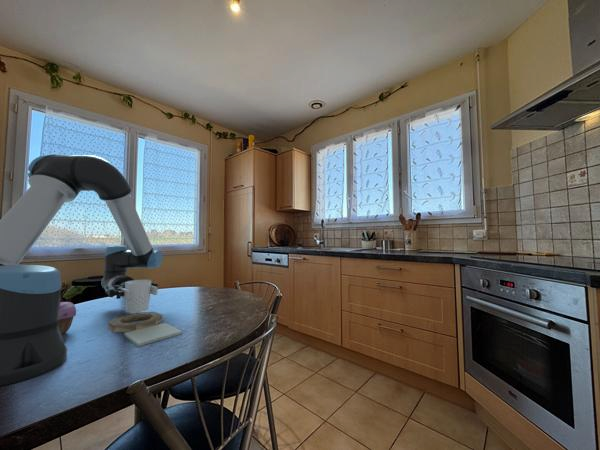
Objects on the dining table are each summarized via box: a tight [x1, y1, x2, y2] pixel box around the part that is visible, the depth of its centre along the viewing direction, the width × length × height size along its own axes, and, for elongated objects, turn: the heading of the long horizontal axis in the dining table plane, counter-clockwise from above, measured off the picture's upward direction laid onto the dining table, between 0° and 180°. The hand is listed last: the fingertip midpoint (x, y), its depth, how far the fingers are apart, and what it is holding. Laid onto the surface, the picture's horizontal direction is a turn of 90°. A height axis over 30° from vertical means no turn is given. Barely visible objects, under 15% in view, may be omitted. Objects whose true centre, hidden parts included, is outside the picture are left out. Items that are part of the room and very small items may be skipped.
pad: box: [123, 322, 182, 348], centre depth 77 cm, size 12×12×1 cm
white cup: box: [124, 279, 152, 314], centre depth 87 cm, size 8×8×10 cm
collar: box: [107, 311, 163, 333], centre depth 87 cm, size 15×15×2 cm
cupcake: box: [59, 301, 77, 335], centre depth 77 cm, size 9×9×10 cm
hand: (143, 293), depth 84 cm, fingers closed on white cup, 8 cm apart
